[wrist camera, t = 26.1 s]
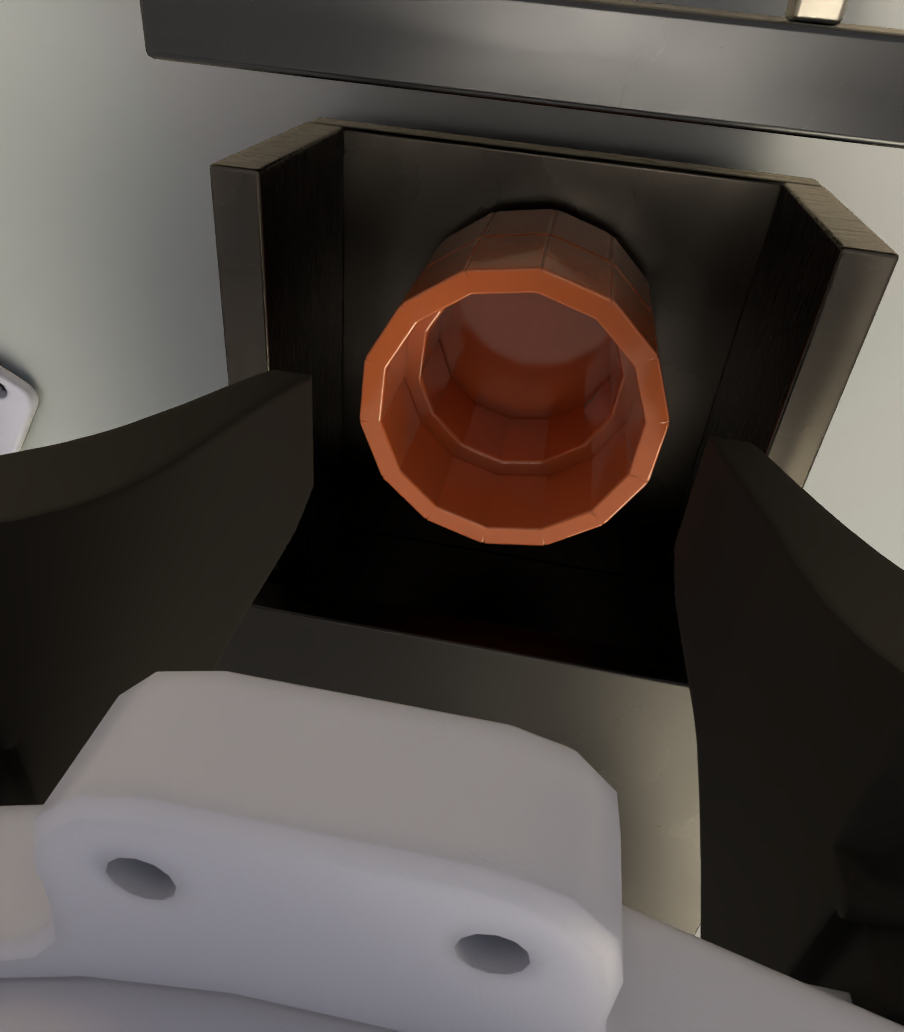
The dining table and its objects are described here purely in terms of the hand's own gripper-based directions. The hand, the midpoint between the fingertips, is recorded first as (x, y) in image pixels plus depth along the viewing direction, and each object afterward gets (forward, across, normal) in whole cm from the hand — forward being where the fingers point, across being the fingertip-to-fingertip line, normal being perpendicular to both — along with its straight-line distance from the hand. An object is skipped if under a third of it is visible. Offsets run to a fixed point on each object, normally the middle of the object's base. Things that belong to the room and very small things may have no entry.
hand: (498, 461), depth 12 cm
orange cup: (+6, 0, 0) cm, 6 cm away
